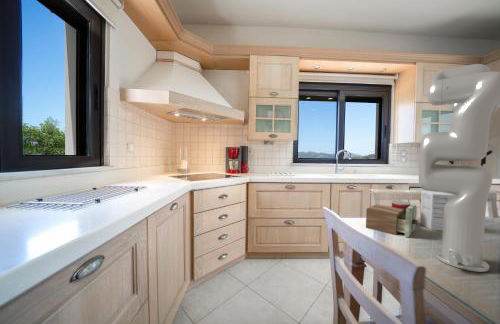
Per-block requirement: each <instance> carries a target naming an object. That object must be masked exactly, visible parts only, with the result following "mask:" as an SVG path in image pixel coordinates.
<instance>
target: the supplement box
mask: <svg viewBox="0 0 500 324" xmlns="http://www.w3.org/2000/svg"><path fill="white" fill-rule="evenodd" d="M420 196H421V197H420V217H419V218H420V219H419V224H420V225H422V226H424V227H425V228H428V229H429V230H432V231H442V232H443V217H444V206H445V204H446V203H447V202H448V201H449V200H451V199H452V198H454V197H455V196H456V195H455V194H451V193H444V192H434V191H427V190H422V191H421V195H420Z"/></svg>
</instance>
